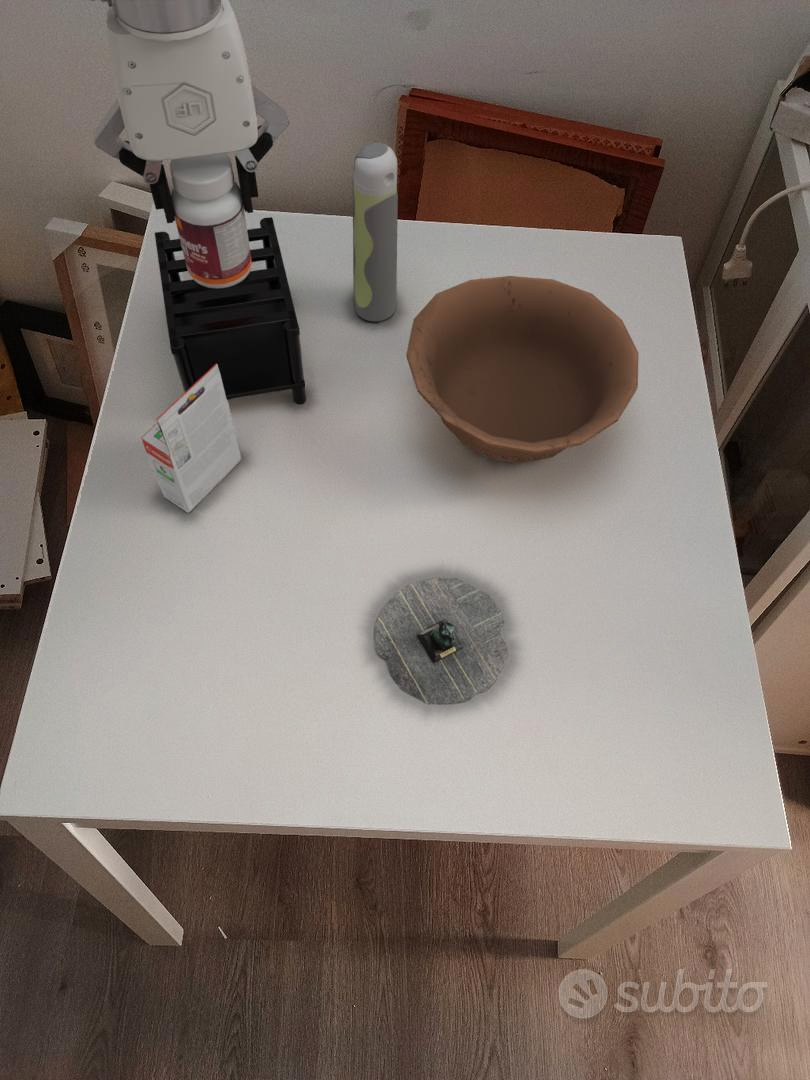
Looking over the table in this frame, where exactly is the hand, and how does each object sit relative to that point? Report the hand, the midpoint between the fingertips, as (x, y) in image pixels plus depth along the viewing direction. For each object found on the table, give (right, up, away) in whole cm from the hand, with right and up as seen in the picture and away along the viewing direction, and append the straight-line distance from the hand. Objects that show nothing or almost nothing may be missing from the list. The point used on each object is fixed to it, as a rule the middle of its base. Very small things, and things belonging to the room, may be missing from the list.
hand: (208, 206), depth 73 cm
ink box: (-3, -24, +9) cm, 26 cm away
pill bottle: (0, -4, +6) cm, 7 cm away
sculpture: (+21, -39, +2) cm, 44 cm away
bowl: (+28, -18, +14) cm, 36 cm away
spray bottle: (+14, -3, +21) cm, 26 cm away
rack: (-1, -10, +17) cm, 20 cm away
